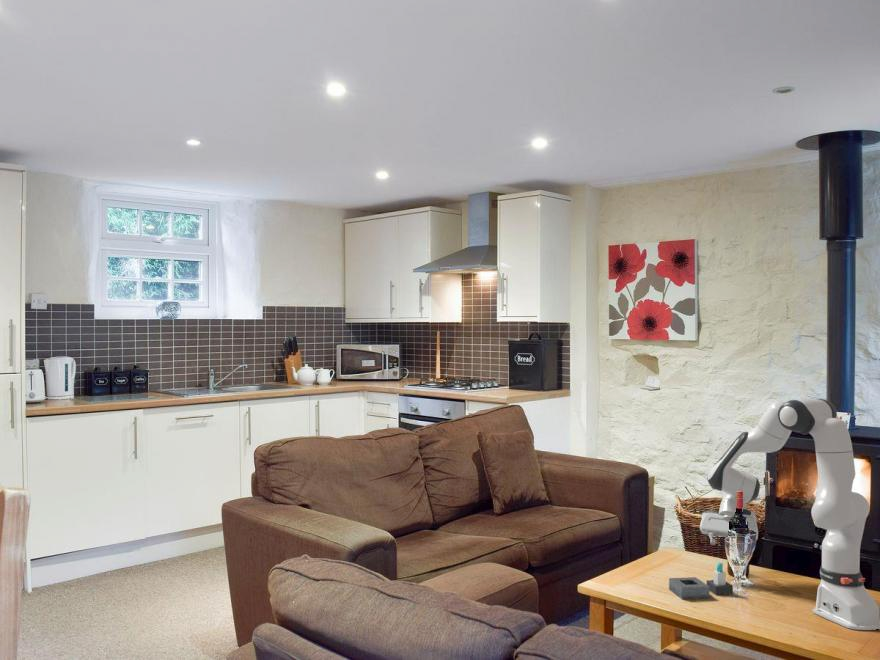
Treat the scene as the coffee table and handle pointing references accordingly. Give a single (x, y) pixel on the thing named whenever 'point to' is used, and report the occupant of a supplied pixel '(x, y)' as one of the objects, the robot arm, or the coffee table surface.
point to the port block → (689, 588)
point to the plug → (719, 575)
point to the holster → (720, 588)
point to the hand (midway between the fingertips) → (725, 546)
